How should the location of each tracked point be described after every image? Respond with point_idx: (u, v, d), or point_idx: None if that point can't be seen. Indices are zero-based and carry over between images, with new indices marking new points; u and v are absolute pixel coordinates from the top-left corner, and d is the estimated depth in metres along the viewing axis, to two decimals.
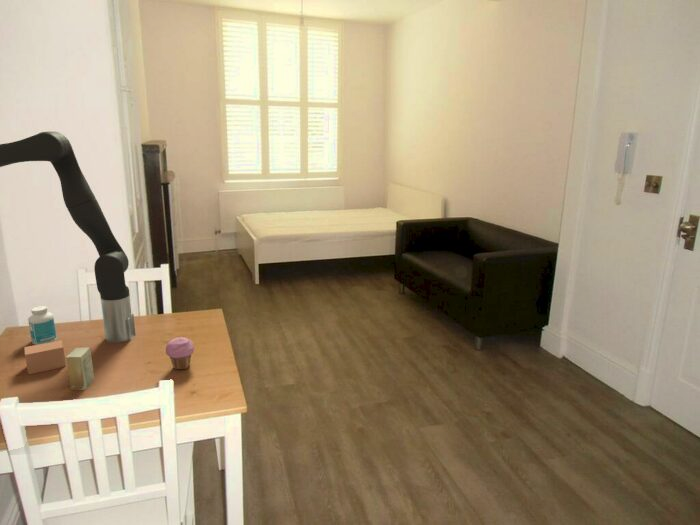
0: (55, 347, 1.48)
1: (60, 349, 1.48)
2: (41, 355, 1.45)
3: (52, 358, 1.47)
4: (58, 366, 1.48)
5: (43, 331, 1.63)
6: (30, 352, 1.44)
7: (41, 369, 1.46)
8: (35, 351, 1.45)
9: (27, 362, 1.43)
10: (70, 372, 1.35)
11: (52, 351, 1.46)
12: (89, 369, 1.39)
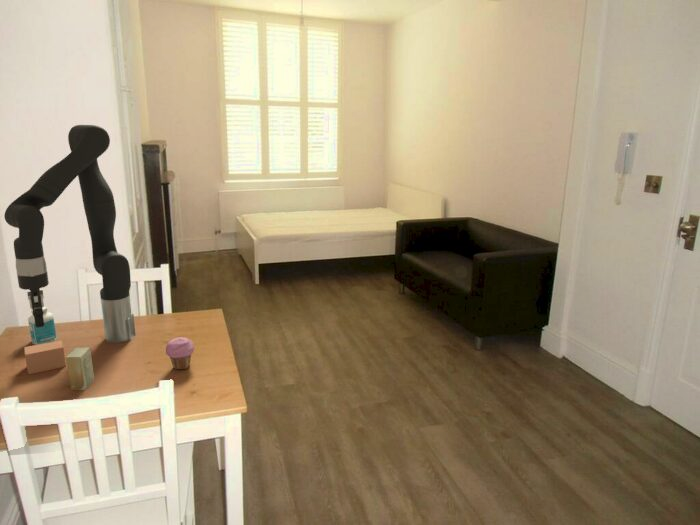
0: (55, 347, 1.48)
1: (60, 349, 1.48)
2: (41, 355, 1.45)
3: (52, 358, 1.47)
4: (58, 366, 1.48)
5: (43, 331, 1.63)
6: (30, 352, 1.44)
7: (41, 369, 1.46)
8: (35, 351, 1.45)
9: (27, 362, 1.43)
10: (70, 372, 1.35)
11: (52, 351, 1.46)
12: (89, 369, 1.39)
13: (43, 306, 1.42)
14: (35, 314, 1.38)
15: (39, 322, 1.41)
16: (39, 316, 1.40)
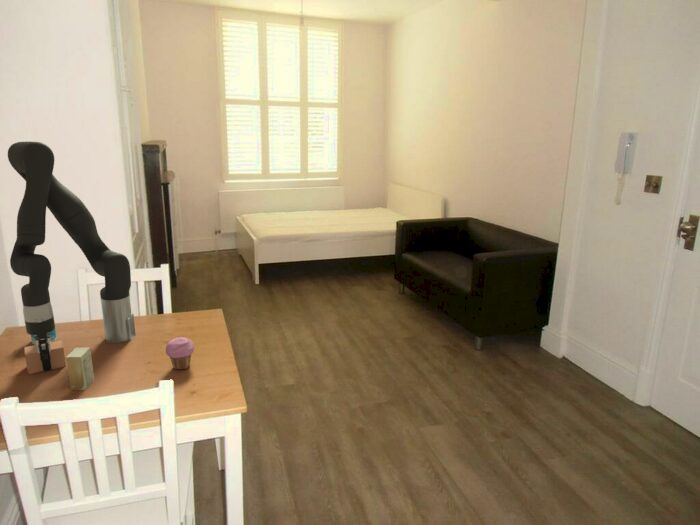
0: (55, 347, 1.48)
1: (60, 349, 1.48)
2: None
3: (52, 358, 1.47)
4: (58, 366, 1.48)
5: None
6: (30, 352, 1.44)
7: (41, 369, 1.46)
8: (35, 351, 1.45)
9: (27, 362, 1.43)
10: (70, 372, 1.35)
11: (52, 351, 1.46)
12: (89, 369, 1.39)
13: (50, 350, 1.46)
14: (43, 359, 1.43)
15: (46, 366, 1.46)
16: (46, 361, 1.45)
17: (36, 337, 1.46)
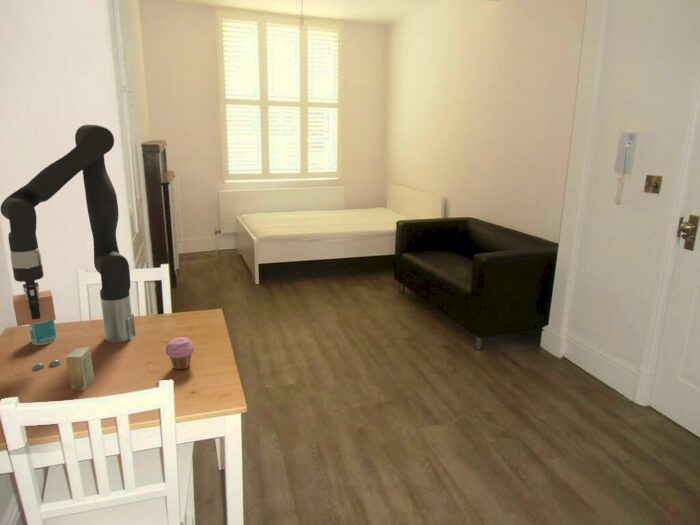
0: (44, 295, 1.46)
1: (49, 297, 1.46)
2: None
3: (41, 306, 1.46)
4: (47, 315, 1.47)
5: (43, 331, 1.63)
6: (18, 299, 1.43)
7: (30, 317, 1.45)
8: (23, 299, 1.43)
9: (15, 309, 1.42)
10: (70, 372, 1.35)
11: (40, 299, 1.45)
12: (89, 369, 1.39)
13: None
14: (31, 306, 1.42)
15: (35, 314, 1.44)
16: (35, 308, 1.44)
17: (24, 285, 1.45)
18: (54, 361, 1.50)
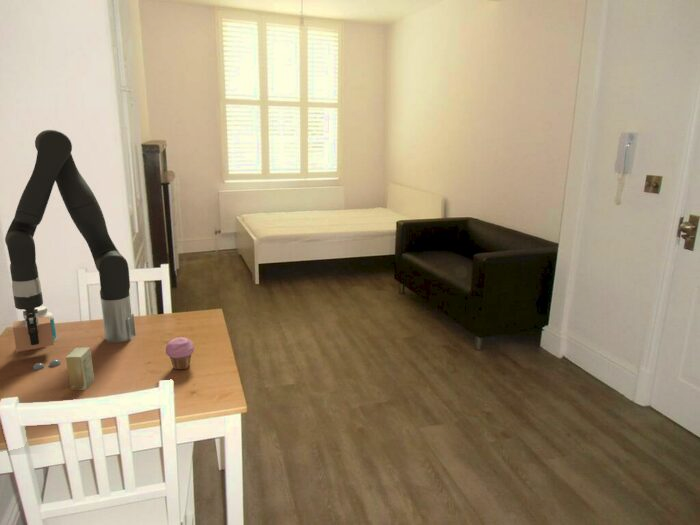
0: (42, 322, 1.53)
1: (47, 324, 1.53)
2: None
3: (40, 332, 1.52)
4: (45, 341, 1.54)
5: None
6: (18, 326, 1.49)
7: (29, 343, 1.51)
8: (23, 325, 1.50)
9: (15, 336, 1.48)
10: (70, 372, 1.35)
11: (39, 326, 1.52)
12: (89, 369, 1.39)
13: None
14: (30, 333, 1.48)
15: (34, 340, 1.51)
16: (34, 335, 1.50)
17: (24, 312, 1.52)
18: (54, 361, 1.50)
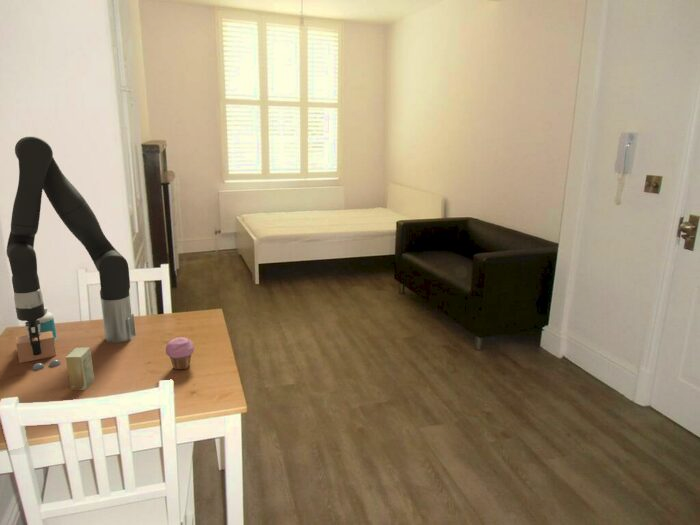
0: (45, 337, 1.54)
1: (50, 339, 1.54)
2: None
3: (43, 347, 1.54)
4: (48, 355, 1.55)
5: (43, 331, 1.63)
6: (21, 342, 1.51)
7: (32, 358, 1.52)
8: (26, 341, 1.51)
9: (18, 351, 1.50)
10: (70, 372, 1.35)
11: (42, 341, 1.53)
12: (89, 369, 1.39)
13: (40, 335, 1.52)
14: (33, 344, 1.48)
15: (36, 351, 1.51)
16: (36, 345, 1.50)
17: (27, 323, 1.53)
18: (54, 361, 1.50)
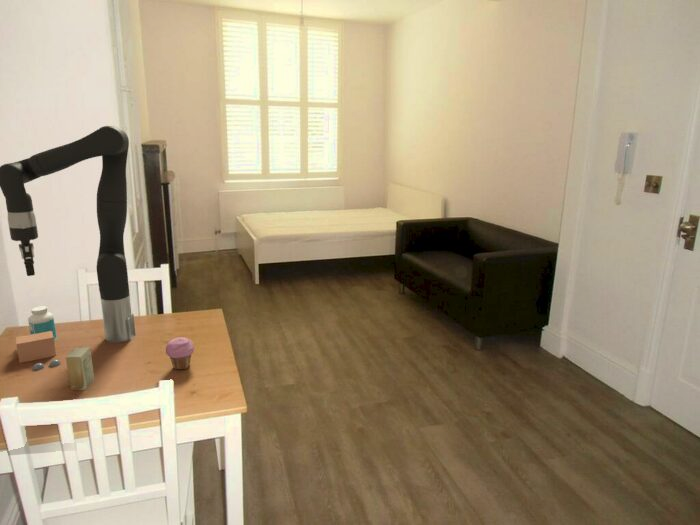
0: (45, 337, 1.54)
1: (50, 339, 1.54)
2: (32, 345, 1.52)
3: (43, 347, 1.54)
4: (48, 355, 1.55)
5: (43, 331, 1.63)
6: (21, 342, 1.51)
7: (32, 358, 1.52)
8: (26, 341, 1.51)
9: (18, 351, 1.50)
10: (70, 372, 1.35)
11: (42, 341, 1.53)
12: (89, 369, 1.39)
13: (33, 257, 1.56)
14: (26, 263, 1.52)
15: (30, 271, 1.55)
16: (30, 265, 1.54)
17: (20, 245, 1.56)
18: (54, 361, 1.50)
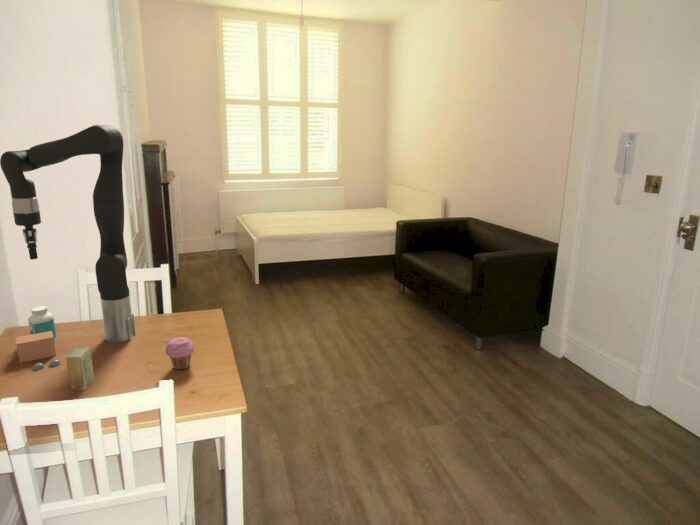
0: (45, 337, 1.54)
1: (50, 339, 1.54)
2: (32, 345, 1.52)
3: (43, 347, 1.54)
4: (48, 355, 1.55)
5: (43, 331, 1.63)
6: (21, 342, 1.51)
7: (32, 358, 1.52)
8: (26, 341, 1.51)
9: (18, 351, 1.50)
10: (70, 372, 1.35)
11: (42, 341, 1.53)
12: (89, 369, 1.39)
13: (36, 241, 1.63)
14: (29, 246, 1.59)
15: (33, 255, 1.62)
16: (33, 249, 1.61)
17: (24, 230, 1.63)
18: (54, 361, 1.50)
